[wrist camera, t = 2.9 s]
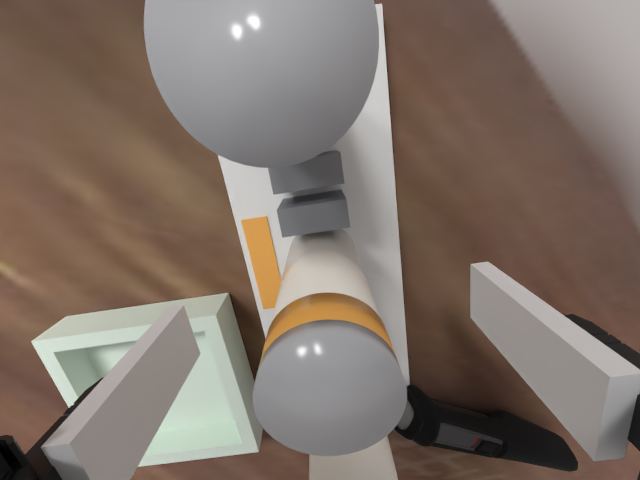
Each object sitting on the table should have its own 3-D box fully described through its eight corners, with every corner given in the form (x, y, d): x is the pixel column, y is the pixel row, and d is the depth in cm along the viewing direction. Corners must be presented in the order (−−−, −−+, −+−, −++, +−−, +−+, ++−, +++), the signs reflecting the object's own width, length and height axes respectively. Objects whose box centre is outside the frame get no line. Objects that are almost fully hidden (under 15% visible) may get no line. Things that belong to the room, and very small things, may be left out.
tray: (66, 316, 21) (31, 341, 19) (228, 292, 21) (215, 314, 18) (127, 436, 25) (104, 471, 23) (264, 418, 25) (258, 452, 22)
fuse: (305, 346, 22) (295, 547, 11) (367, 337, 21) (418, 534, 11) (315, 393, 23) (315, 612, 12) (373, 386, 23) (423, 601, 12)
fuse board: (193, 41, 16) (157, 13, 12) (378, 7, 16) (397, -32, 12) (286, 407, 24) (281, 453, 21) (408, 391, 24) (423, 436, 20)
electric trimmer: (533, 448, 27) (563, 488, 24) (381, 413, 24) (393, 454, 21) (559, 419, 26) (594, 457, 23) (402, 377, 22) (419, 415, 19)
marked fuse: (281, 228, 19) (235, 348, 8) (352, 217, 18) (401, 326, 8) (294, 291, 20) (270, 463, 9) (360, 282, 20) (411, 446, 9)
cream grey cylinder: (248, 67, 16) (106, -78, 5) (332, 52, 16) (366, -130, 5) (266, 155, 17) (185, 182, 7) (343, 142, 17) (388, 150, 6)
